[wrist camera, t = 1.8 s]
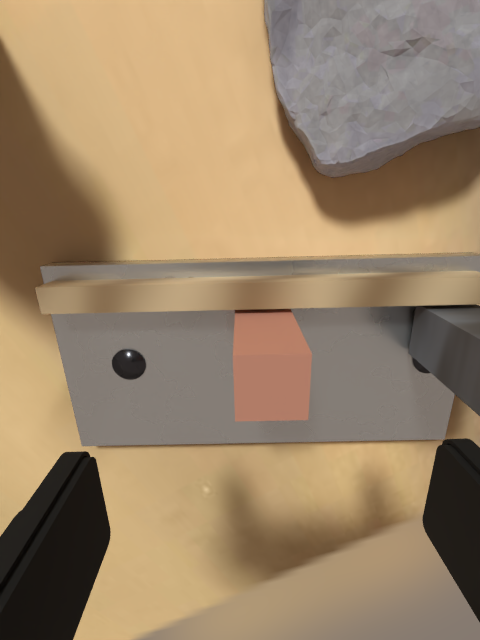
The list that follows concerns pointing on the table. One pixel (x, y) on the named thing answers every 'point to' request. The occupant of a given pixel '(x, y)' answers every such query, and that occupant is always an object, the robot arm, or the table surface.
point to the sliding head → (270, 366)
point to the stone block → (374, 75)
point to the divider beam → (311, 292)
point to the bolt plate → (217, 360)
